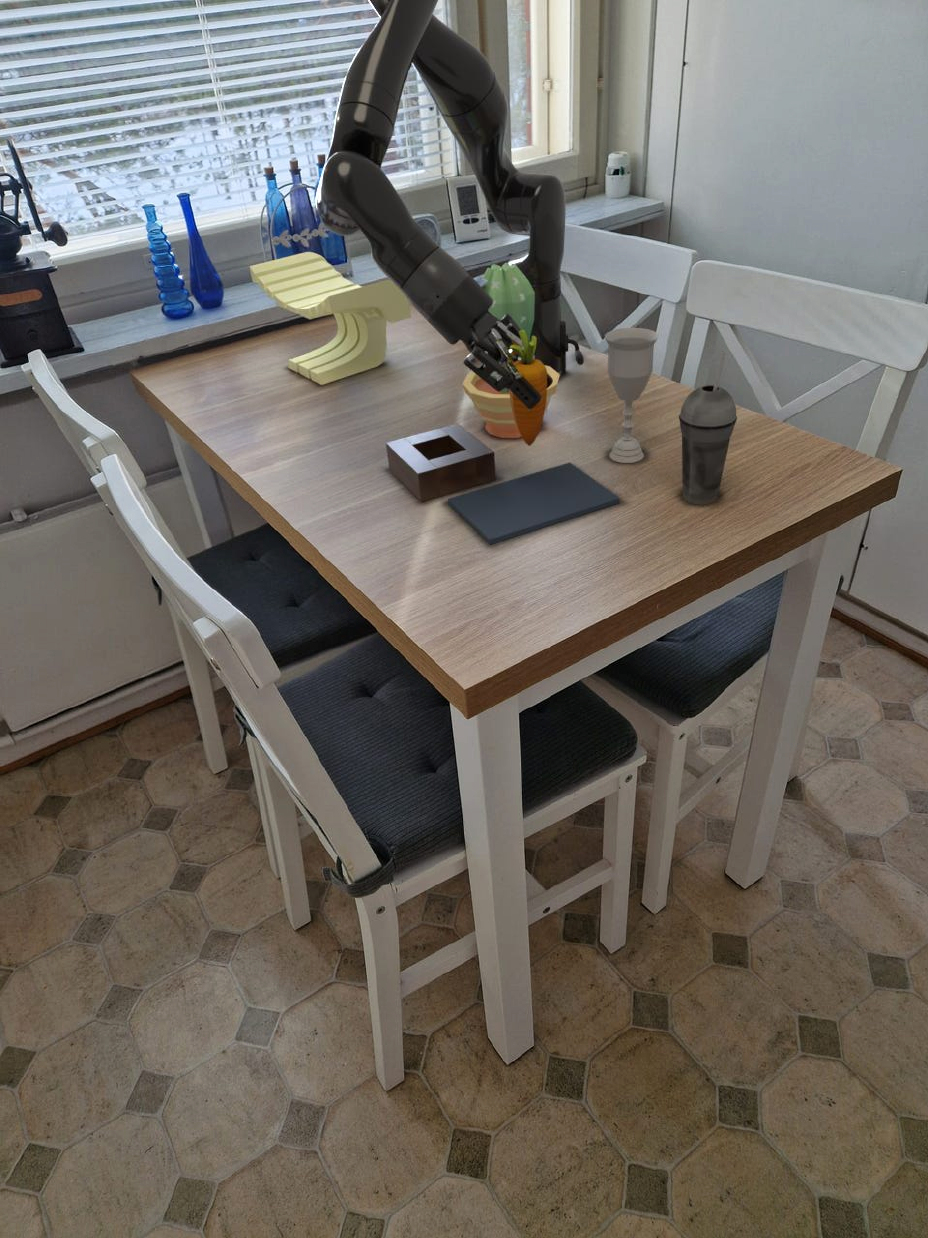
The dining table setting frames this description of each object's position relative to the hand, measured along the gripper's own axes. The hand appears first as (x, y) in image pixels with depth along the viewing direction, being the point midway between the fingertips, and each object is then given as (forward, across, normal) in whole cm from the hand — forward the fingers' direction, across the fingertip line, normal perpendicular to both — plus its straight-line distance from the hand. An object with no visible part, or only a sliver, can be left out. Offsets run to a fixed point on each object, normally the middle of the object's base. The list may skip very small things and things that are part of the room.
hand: (542, 394), depth 112 cm
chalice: (+17, +17, +5) cm, 25 cm away
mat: (+10, 0, +12) cm, 16 cm away
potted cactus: (+3, +24, +20) cm, 31 cm away
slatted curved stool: (-26, +46, +49) cm, 72 cm away
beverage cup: (+26, +6, -3) cm, 27 cm away
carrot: (+4, 0, +6) cm, 8 cm away
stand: (-1, +6, +23) cm, 24 cm away
